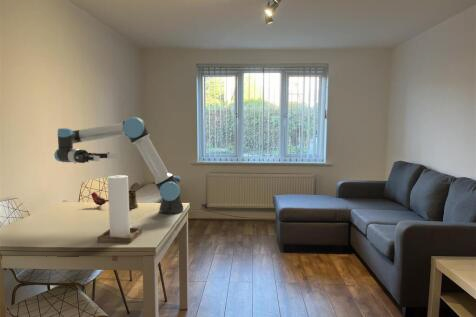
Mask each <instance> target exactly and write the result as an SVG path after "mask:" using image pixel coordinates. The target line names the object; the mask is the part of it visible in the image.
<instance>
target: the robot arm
mask: <svg viewBox="0 0 476 317" xmlns="http://www.w3.org/2000/svg"><path fill="white" fill-rule="evenodd" d="M150 134H151V133H150V132H149V130H148V128H147V124H146V121H145V120H144V119H142V118H141V117H138V116H132V117H128V118H127V119H126V120H124V121H123V120H122V122H120V123H115V124H108V125H101V126H96V127H89V128H84V129H83V128H82V129H76V130H73V129H72V128H70V127H67V128H66V127H63V128H61V127H60V128H58V129H57V144H58V145H57V147H58V149H56V150H55V151H54V159H55V160H56V161H57V162H62V163H73V164H77V163H79V164H85V163H89V162H100V161H101V160H100V159H109V160H110V159H112V160H117V159H118V153H110V151H109V152H107V153H102V152H101V153H96V152H88V151H87V150H86V149H77V148H74V144H77V143H83V142H89V141H96V140H103V139H108V138H114V137H115V138H116V137H121V136H125V137H128V139H129V141H130V143H131V144H133V145H135V146H136V147H137V149H138V152H139V153H140V155H141V156H142V158H143V160H144V162H145V163H146V165H147V167H148V168H149V171H150V172H151V174H152V175H153V177H154V179H155V187H156V188H157V190H158V193H159V195H160V197H161V202H160V205H159V210H158V211H159V213H161V214H165V215H173V214H174V213H175V214H179V213H183V212H184V205H183V203H182V199H181V177H180V175H174V174H173V173H170V172H169V171H168V170H167V167H166V166H165V164H164V162H163V160H162V159H161V157H160V154H159V153H158V151H157V150H156V148H155V146H154V144H153V142H152V140H151V139H150V136H151V135H150ZM175 214H174V215H175Z"/></svg>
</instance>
